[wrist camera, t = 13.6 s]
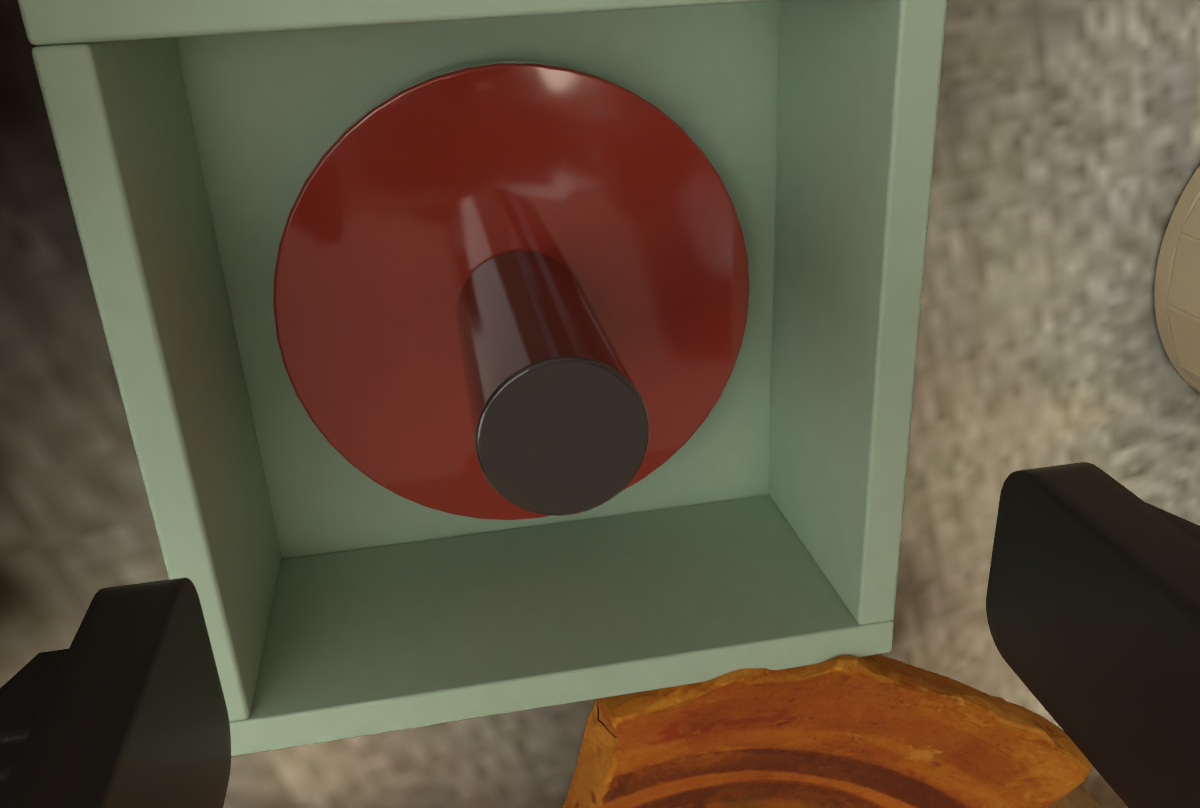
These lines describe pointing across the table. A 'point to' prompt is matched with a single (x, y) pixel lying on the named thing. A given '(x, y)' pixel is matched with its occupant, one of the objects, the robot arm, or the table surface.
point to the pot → (1181, 285)
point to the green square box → (487, 546)
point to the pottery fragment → (822, 743)
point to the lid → (511, 290)
